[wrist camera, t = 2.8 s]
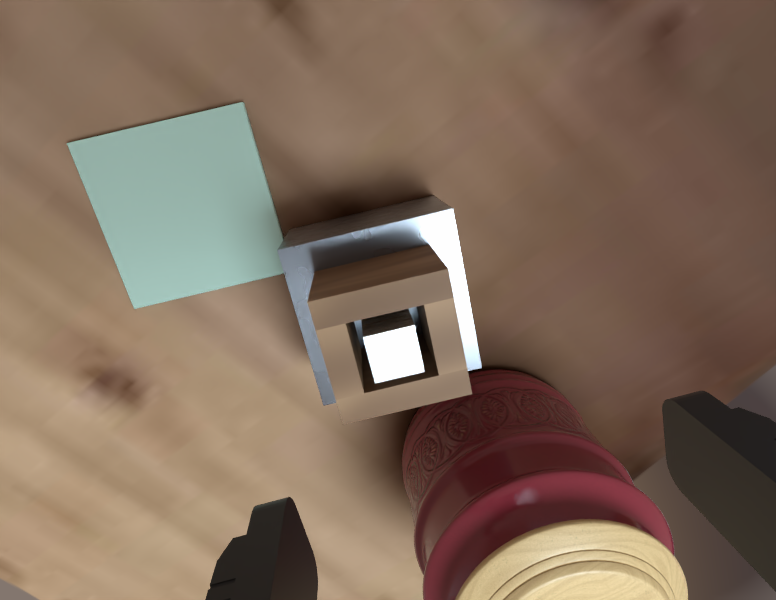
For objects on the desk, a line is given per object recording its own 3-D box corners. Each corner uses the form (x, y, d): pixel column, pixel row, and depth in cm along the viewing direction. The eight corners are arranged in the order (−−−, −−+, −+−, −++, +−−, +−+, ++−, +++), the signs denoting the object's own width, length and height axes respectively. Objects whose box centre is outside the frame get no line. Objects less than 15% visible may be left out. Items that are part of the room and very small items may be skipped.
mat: (70, 143, 29) (66, 143, 28) (243, 102, 29) (242, 101, 28) (136, 306, 32) (134, 308, 31) (293, 269, 32) (292, 271, 31)
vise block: (289, 229, 31) (259, 279, 20) (433, 195, 31) (480, 227, 20) (327, 360, 34) (318, 466, 23) (459, 328, 34) (512, 420, 23)
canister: (421, 537, 39) (477, 838, 22) (379, 391, 35) (411, 626, 18) (585, 494, 39) (766, 764, 22) (563, 343, 35) (764, 534, 18)
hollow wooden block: (314, 271, 26) (307, 302, 21) (429, 244, 26) (448, 268, 21) (343, 375, 28) (342, 424, 23) (450, 349, 28) (472, 394, 23)
